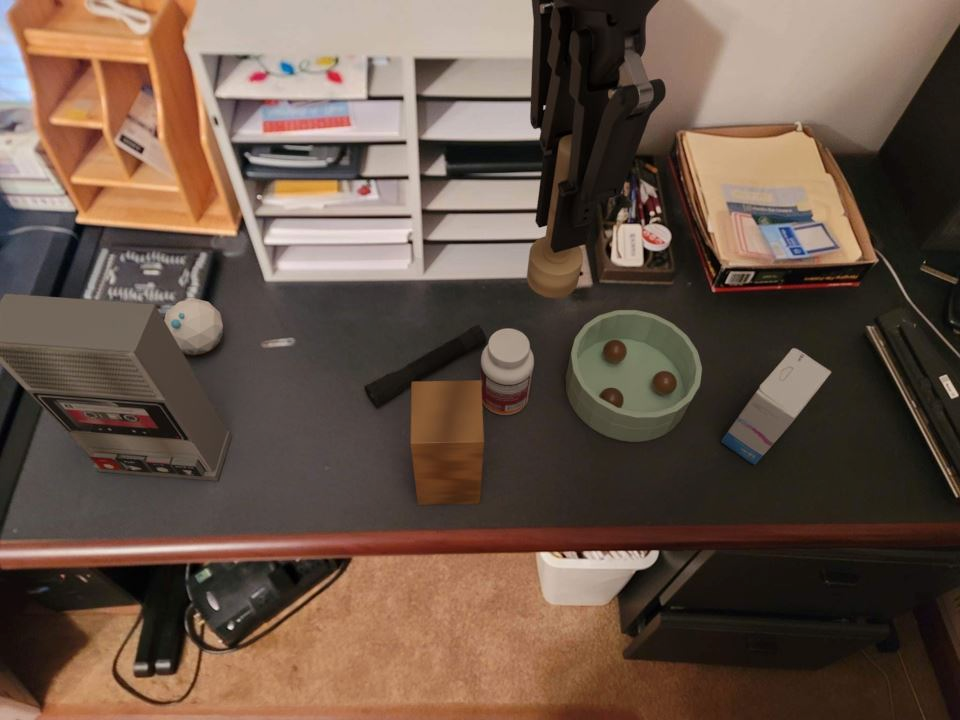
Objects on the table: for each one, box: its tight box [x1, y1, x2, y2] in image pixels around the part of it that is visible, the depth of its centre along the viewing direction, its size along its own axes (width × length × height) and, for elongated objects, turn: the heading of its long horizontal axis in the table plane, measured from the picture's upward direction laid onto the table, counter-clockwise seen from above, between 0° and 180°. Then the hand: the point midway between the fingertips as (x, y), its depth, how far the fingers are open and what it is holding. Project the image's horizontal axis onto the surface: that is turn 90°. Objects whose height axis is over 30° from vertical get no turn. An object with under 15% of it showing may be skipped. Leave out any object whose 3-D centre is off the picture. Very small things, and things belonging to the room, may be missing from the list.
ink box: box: [720, 347, 832, 466], centre depth 80 cm, size 9×5×12 cm, turn 137°
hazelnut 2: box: [599, 387, 624, 408], centre depth 84 cm, size 3×3×3 cm
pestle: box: [526, 134, 584, 299], centre depth 54 cm, size 4×4×14 cm
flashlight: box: [363, 324, 488, 408], centre depth 87 cm, size 3×16×3 cm, turn 126°
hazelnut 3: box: [652, 371, 677, 395], centre depth 86 cm, size 3×3×3 cm
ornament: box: [163, 297, 224, 356], centre depth 87 cm, size 7×7×8 cm
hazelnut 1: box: [603, 340, 627, 363], centre depth 88 cm, size 3×3×3 cm
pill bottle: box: [479, 327, 535, 416], centre depth 82 cm, size 6×6×11 cm
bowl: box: [564, 309, 703, 443], centre depth 85 cm, size 15×15×6 cm
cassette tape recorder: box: [0, 293, 233, 482], centre depth 71 cm, size 14×6×25 cm, turn 86°
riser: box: [409, 379, 485, 506], centre depth 74 cm, size 7×7×15 cm
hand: (560, 232), depth 55 cm, fingers closed on pestle, 2 cm apart
